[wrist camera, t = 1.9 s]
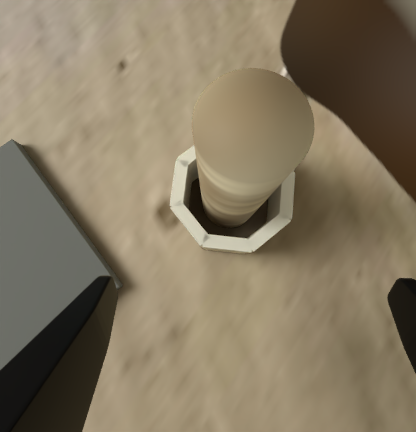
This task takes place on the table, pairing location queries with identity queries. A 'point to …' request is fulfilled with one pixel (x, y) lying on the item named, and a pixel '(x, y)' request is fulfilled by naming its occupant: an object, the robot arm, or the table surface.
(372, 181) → the table surface
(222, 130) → the birch peg
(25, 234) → the rubber mat
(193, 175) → the holder cup
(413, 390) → the table surface
